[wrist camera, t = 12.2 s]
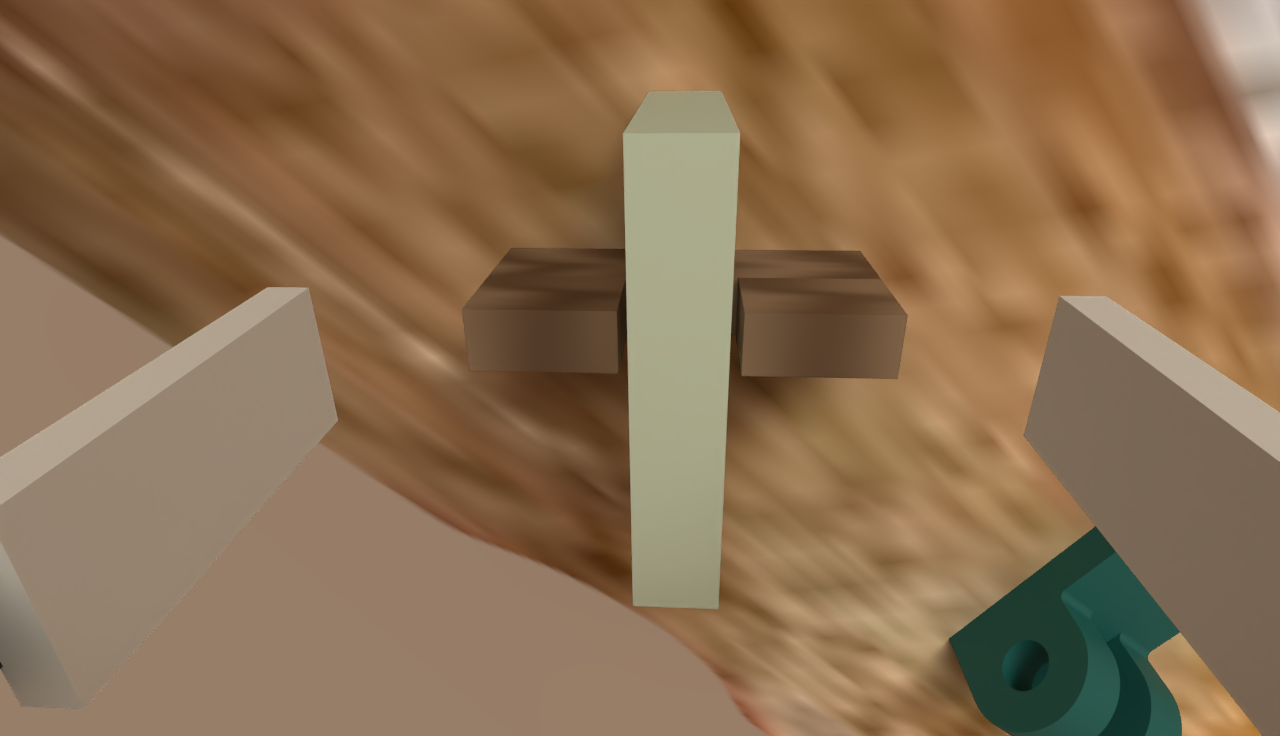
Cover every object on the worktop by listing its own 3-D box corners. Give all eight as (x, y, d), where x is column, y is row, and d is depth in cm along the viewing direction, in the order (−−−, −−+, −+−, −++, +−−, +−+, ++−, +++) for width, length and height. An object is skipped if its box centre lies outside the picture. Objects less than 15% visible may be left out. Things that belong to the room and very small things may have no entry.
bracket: (1028, 689, 44) (1093, 817, 37) (948, 636, 42) (999, 759, 35) (1307, 496, 37) (1454, 609, 30) (1221, 425, 35) (1354, 525, 28)
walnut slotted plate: (515, 298, 35) (469, 370, 28) (511, 248, 34) (461, 309, 26) (853, 303, 34) (897, 378, 27) (860, 251, 33) (907, 315, 25)
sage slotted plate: (709, 423, 37) (718, 609, 25) (651, 422, 37) (632, 605, 26) (721, 90, 30) (740, 133, 18) (649, 91, 30) (622, 133, 19)
